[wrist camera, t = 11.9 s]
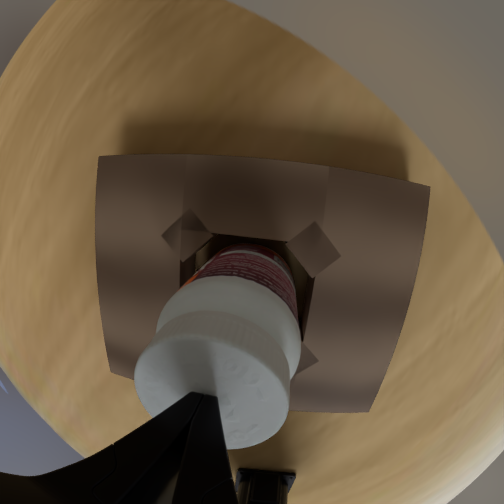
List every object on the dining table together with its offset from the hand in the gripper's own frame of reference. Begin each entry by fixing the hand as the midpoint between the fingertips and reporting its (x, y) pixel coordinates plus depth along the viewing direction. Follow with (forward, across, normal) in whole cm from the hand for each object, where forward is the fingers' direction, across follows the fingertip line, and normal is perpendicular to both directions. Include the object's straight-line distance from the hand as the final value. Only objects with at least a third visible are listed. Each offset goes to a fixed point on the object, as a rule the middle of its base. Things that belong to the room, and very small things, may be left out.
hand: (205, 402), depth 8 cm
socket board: (+11, 0, 0) cm, 11 cm away
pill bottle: (+12, 0, 0) cm, 12 cm away
